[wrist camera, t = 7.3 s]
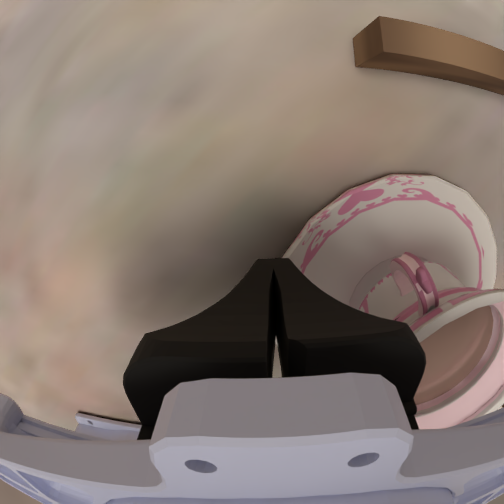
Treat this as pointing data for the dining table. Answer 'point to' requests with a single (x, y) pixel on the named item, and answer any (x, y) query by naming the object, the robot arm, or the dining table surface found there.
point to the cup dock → (429, 53)
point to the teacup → (418, 283)
